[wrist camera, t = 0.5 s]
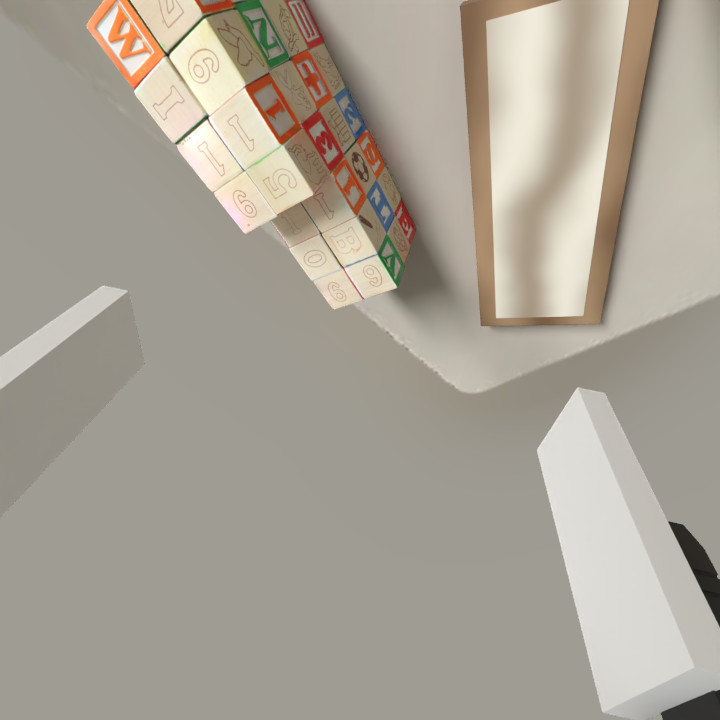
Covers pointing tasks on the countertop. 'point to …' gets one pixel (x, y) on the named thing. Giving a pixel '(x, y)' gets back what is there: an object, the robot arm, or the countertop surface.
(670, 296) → the countertop surface
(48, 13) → the countertop surface
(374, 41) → the countertop surface
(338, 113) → the stack of blocks
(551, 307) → the picture frame
